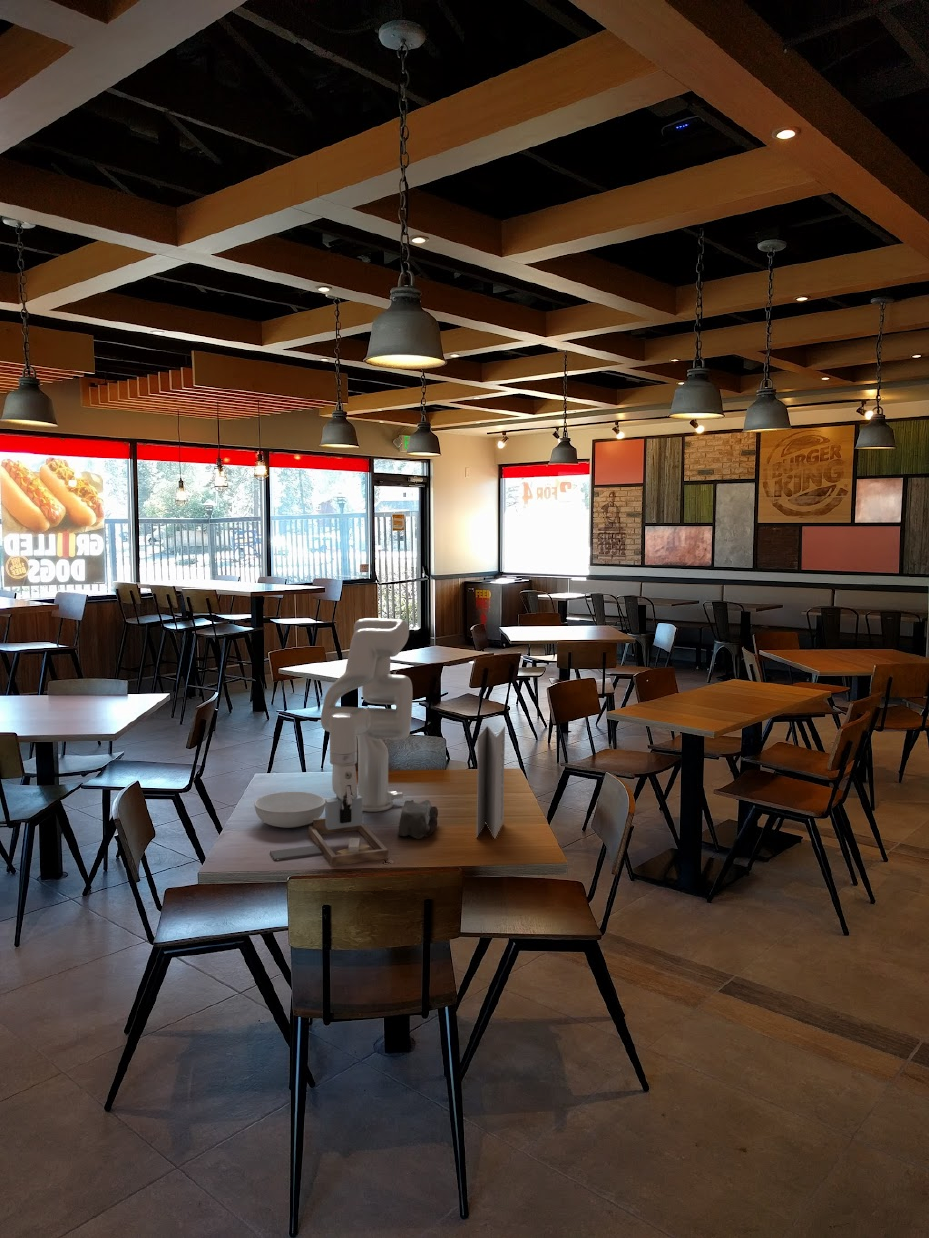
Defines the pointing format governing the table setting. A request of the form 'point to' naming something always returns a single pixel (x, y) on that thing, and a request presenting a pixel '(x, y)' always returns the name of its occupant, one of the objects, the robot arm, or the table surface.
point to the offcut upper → (354, 845)
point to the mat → (296, 852)
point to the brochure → (490, 780)
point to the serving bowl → (289, 808)
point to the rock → (417, 819)
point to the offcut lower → (362, 848)
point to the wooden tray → (349, 858)
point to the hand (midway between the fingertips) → (343, 819)
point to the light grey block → (334, 813)
